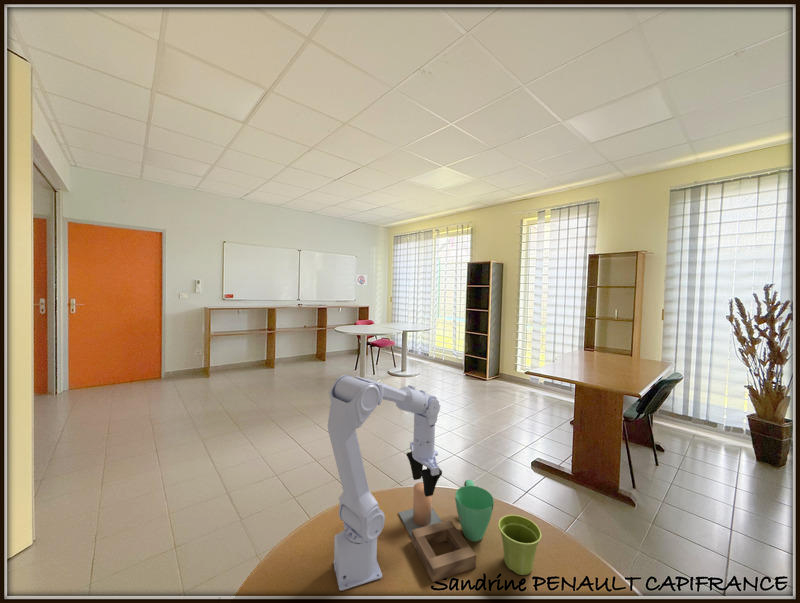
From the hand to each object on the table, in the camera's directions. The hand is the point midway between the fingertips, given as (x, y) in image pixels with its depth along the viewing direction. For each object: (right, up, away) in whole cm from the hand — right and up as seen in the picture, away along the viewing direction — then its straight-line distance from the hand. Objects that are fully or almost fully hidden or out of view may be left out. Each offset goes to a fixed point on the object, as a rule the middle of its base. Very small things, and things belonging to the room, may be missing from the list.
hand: (422, 486), depth 89 cm
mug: (+13, -10, -1) cm, 17 cm away
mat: (0, -10, 0) cm, 10 cm away
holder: (+4, -10, -10) cm, 15 cm away
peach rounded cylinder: (0, -9, +1) cm, 9 cm away
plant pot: (+21, -11, -13) cm, 27 cm away
